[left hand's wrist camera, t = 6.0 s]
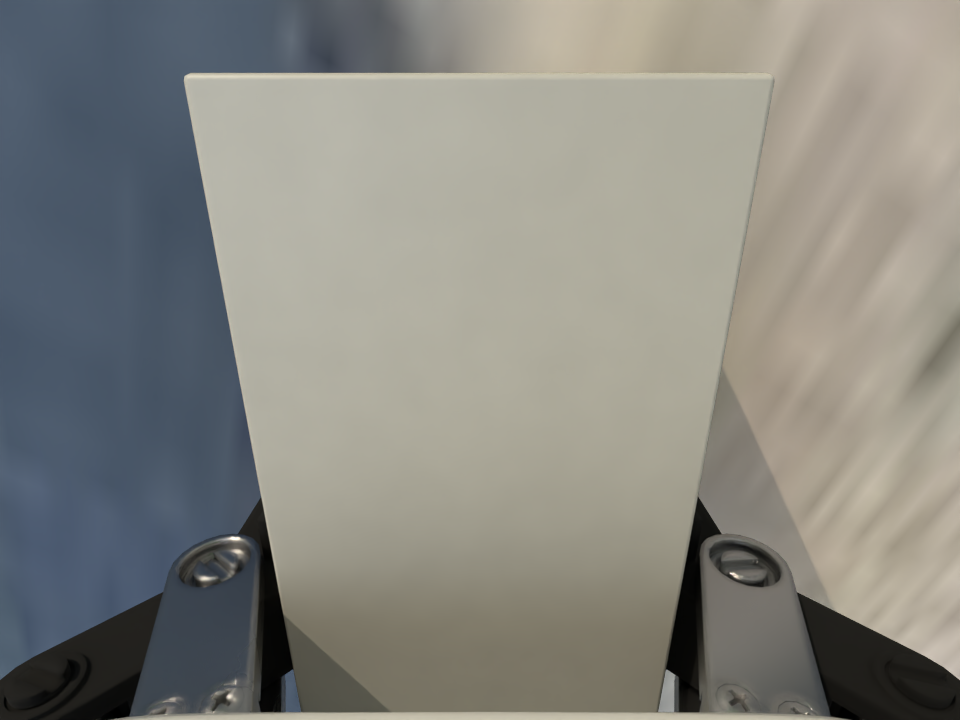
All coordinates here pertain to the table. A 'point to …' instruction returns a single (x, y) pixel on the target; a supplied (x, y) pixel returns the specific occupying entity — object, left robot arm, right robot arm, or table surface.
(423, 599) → the post
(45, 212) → the table surface
